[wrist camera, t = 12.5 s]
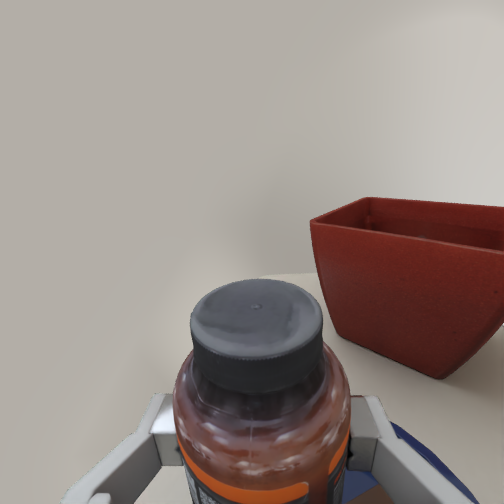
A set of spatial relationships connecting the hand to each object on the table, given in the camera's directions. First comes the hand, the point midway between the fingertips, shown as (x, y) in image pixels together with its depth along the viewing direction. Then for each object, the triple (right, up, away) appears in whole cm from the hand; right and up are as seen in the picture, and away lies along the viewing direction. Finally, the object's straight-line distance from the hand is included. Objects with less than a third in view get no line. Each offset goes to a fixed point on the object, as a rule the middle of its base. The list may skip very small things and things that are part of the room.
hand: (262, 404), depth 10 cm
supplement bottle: (0, -6, +1) cm, 6 cm away
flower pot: (+20, -5, +25) cm, 33 cm away
